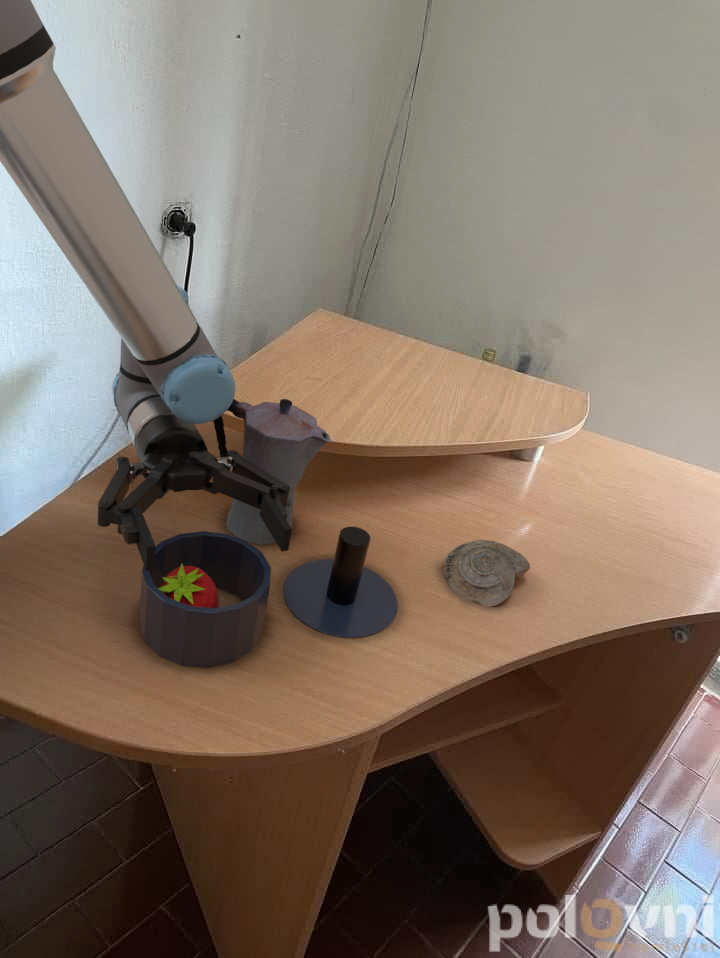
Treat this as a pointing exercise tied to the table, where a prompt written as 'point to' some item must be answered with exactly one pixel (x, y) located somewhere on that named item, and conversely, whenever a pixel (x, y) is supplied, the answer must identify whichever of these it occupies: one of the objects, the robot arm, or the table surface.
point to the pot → (199, 628)
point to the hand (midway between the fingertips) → (222, 549)
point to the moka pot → (271, 456)
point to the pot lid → (342, 591)
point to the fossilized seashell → (484, 571)
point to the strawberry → (190, 587)
